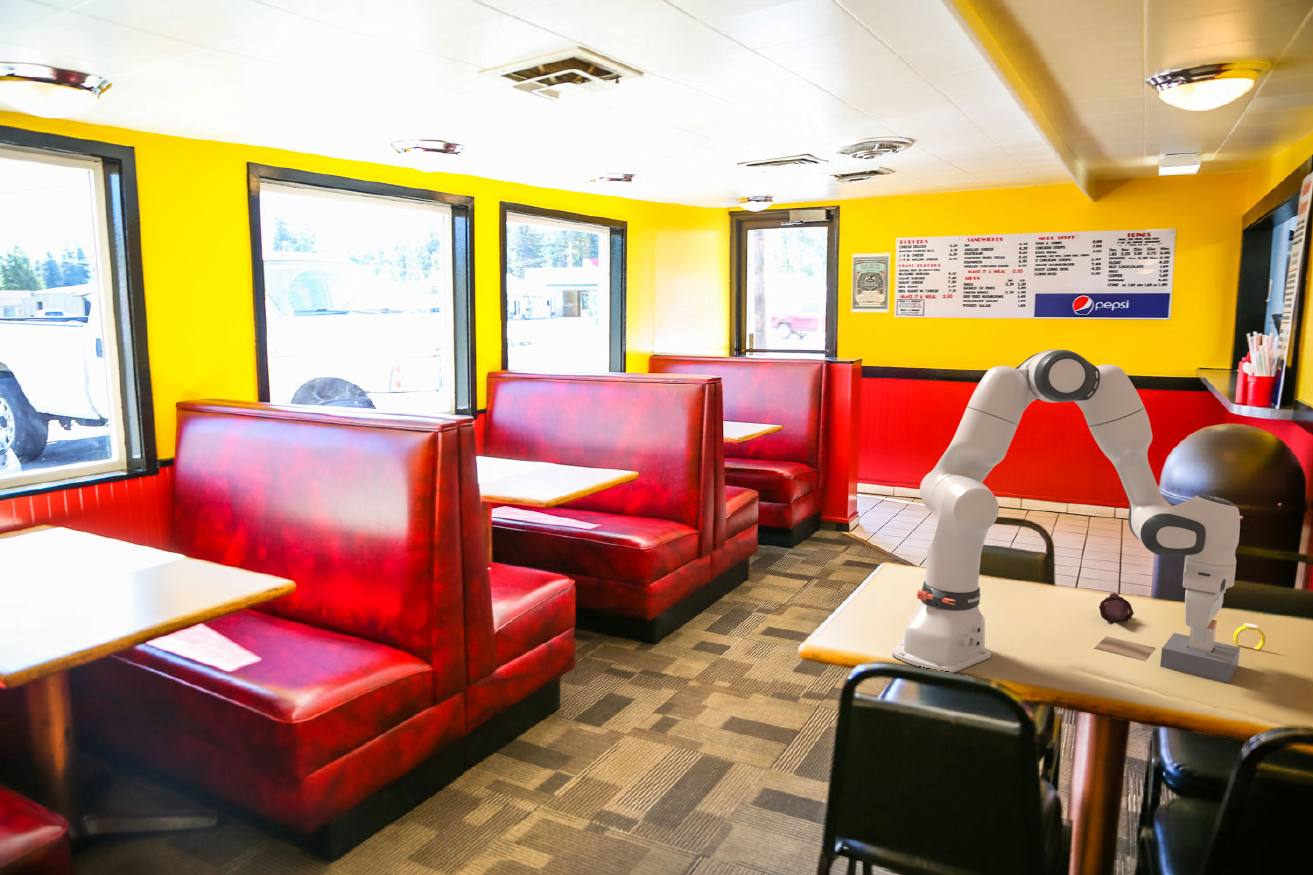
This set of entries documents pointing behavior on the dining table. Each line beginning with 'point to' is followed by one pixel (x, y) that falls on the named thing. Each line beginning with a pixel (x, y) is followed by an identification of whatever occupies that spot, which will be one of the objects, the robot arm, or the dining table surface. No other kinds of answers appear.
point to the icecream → (1115, 609)
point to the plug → (1209, 638)
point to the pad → (1125, 648)
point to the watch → (1250, 627)
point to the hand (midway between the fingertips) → (1202, 637)
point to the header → (1200, 659)
